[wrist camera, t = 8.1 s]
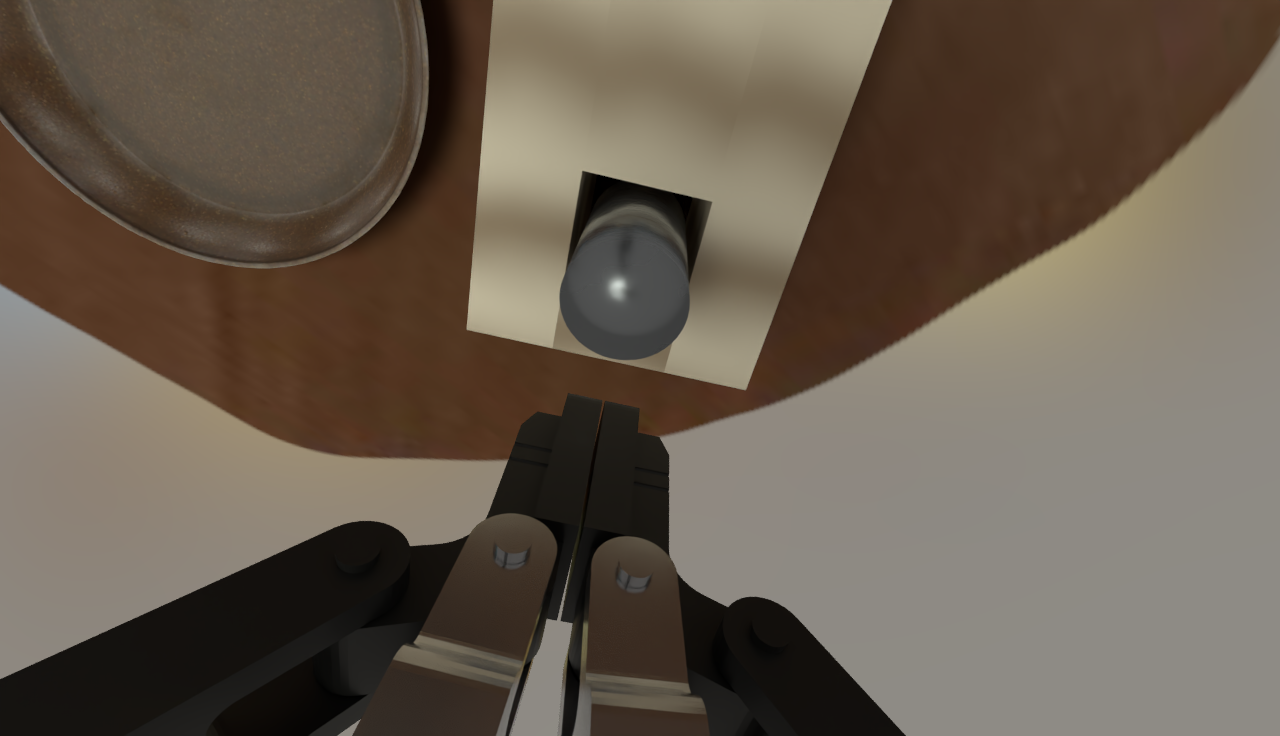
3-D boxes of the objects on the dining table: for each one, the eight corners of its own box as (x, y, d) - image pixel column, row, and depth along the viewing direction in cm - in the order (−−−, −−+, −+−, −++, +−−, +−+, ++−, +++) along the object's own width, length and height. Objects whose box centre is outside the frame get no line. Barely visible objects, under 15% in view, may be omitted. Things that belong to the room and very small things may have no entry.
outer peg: (599, 168, 24) (570, 226, 17) (696, 191, 24) (705, 257, 17) (582, 261, 26) (550, 345, 19) (672, 281, 26) (671, 371, 19)
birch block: (581, -332, 20) (534, -512, 13) (911, -234, 21) (1025, -355, 14) (511, 261, 31) (466, 329, 25) (730, 311, 32) (745, 390, 25)
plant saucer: (-116, -49, 26) (-214, -58, 23) (153, -483, 19) (62, -570, 16) (266, 313, 34) (228, 339, 31) (545, 94, 28) (531, 103, 25)
